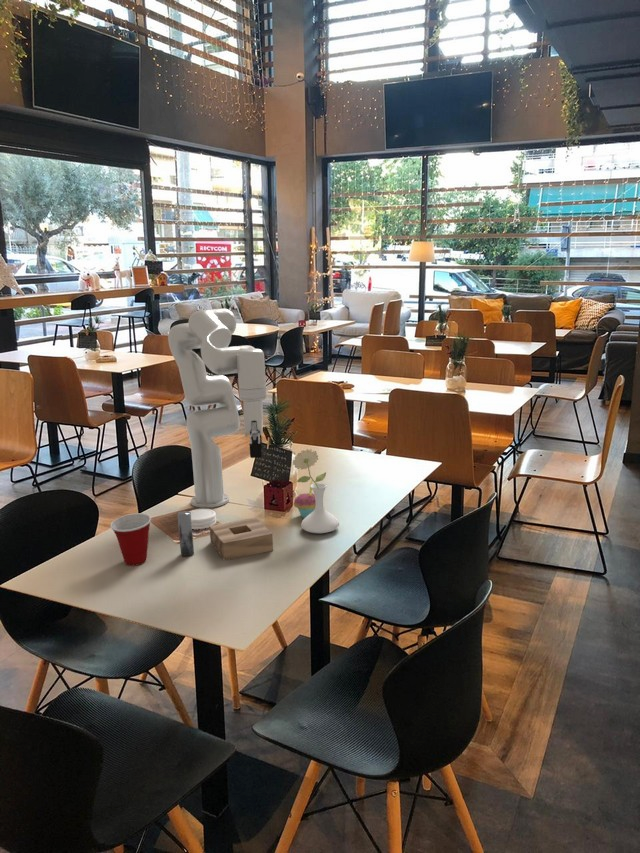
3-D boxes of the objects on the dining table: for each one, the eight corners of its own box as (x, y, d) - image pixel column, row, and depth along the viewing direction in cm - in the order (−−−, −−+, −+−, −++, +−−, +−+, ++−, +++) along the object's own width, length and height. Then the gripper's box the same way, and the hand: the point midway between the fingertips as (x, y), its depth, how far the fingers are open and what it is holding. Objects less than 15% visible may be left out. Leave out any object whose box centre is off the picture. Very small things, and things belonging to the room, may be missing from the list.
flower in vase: (338, 521, 214) (335, 442, 208) (340, 536, 203) (338, 453, 197) (295, 523, 214) (292, 444, 208) (295, 538, 203) (291, 455, 197)
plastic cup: (105, 564, 189) (101, 523, 186) (136, 550, 198) (132, 510, 195) (133, 573, 183) (128, 530, 180) (163, 558, 192) (159, 517, 189)
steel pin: (179, 553, 195) (176, 512, 192) (192, 550, 197) (188, 510, 194) (182, 557, 192) (178, 516, 189) (195, 555, 193) (192, 514, 190)
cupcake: (326, 513, 221) (325, 477, 218) (311, 522, 214) (310, 485, 211) (304, 509, 226) (303, 473, 223) (289, 517, 219) (287, 481, 216)
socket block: (210, 542, 202) (209, 526, 201) (256, 533, 207) (255, 517, 206) (224, 560, 189) (223, 543, 188) (273, 550, 195) (272, 533, 193)
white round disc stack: (199, 533, 210) (198, 522, 209) (177, 526, 216) (176, 515, 215) (223, 522, 217) (222, 511, 217) (201, 516, 223) (200, 506, 222)
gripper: (240, 388, 203) (244, 445, 207) (238, 400, 186) (242, 462, 190) (266, 387, 203) (269, 444, 207) (266, 398, 186) (269, 460, 190)
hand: (256, 452), depth 199 cm, fingers open, 9 cm apart
